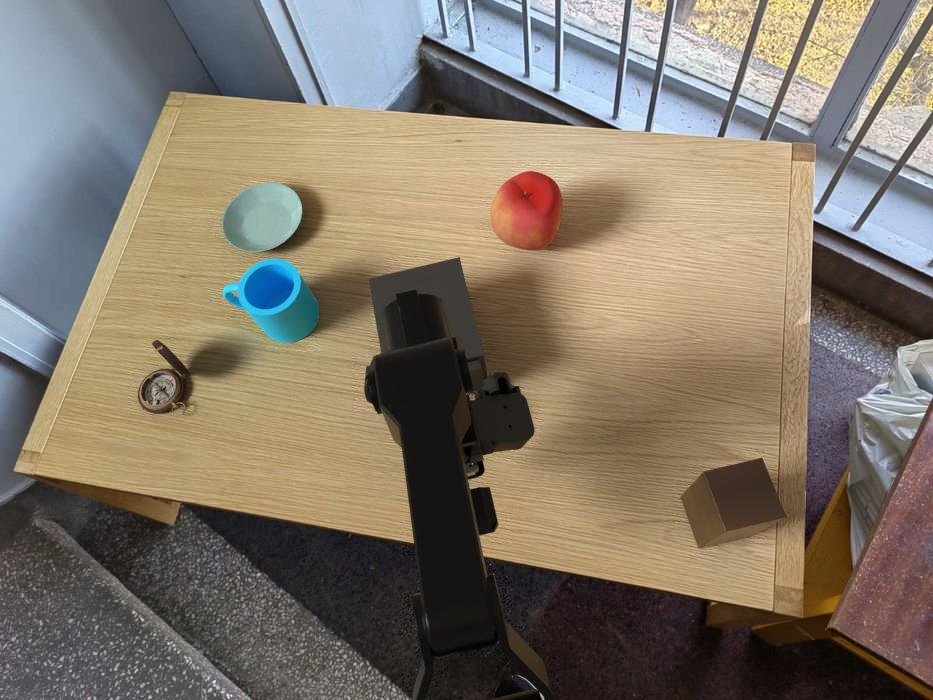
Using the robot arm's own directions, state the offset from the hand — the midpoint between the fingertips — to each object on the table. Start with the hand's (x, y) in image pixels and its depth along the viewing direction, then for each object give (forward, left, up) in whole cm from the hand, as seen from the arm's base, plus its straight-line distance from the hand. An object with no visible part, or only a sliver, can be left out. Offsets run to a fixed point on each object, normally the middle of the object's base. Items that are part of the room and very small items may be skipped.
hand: (456, 464), depth 75 cm
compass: (+20, +35, -7) cm, 41 cm away
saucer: (+43, +20, -7) cm, 48 cm away
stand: (-11, -27, -7) cm, 30 cm away
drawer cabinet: (+18, 0, -7) cm, 19 cm away
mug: (+28, +20, -7) cm, 35 cm away
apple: (+31, -16, -7) cm, 36 cm away
